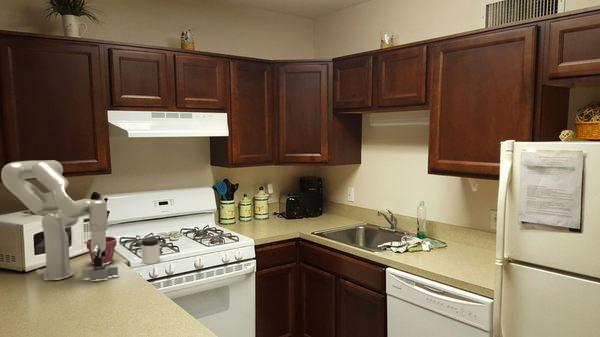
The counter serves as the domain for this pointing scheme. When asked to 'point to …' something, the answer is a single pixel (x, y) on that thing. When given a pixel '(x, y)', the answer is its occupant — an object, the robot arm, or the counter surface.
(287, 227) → the counter surface
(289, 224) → the counter surface
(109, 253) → the plant pot
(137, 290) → the counter surface
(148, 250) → the jar
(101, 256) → the hinge pin
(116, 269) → the hinge
